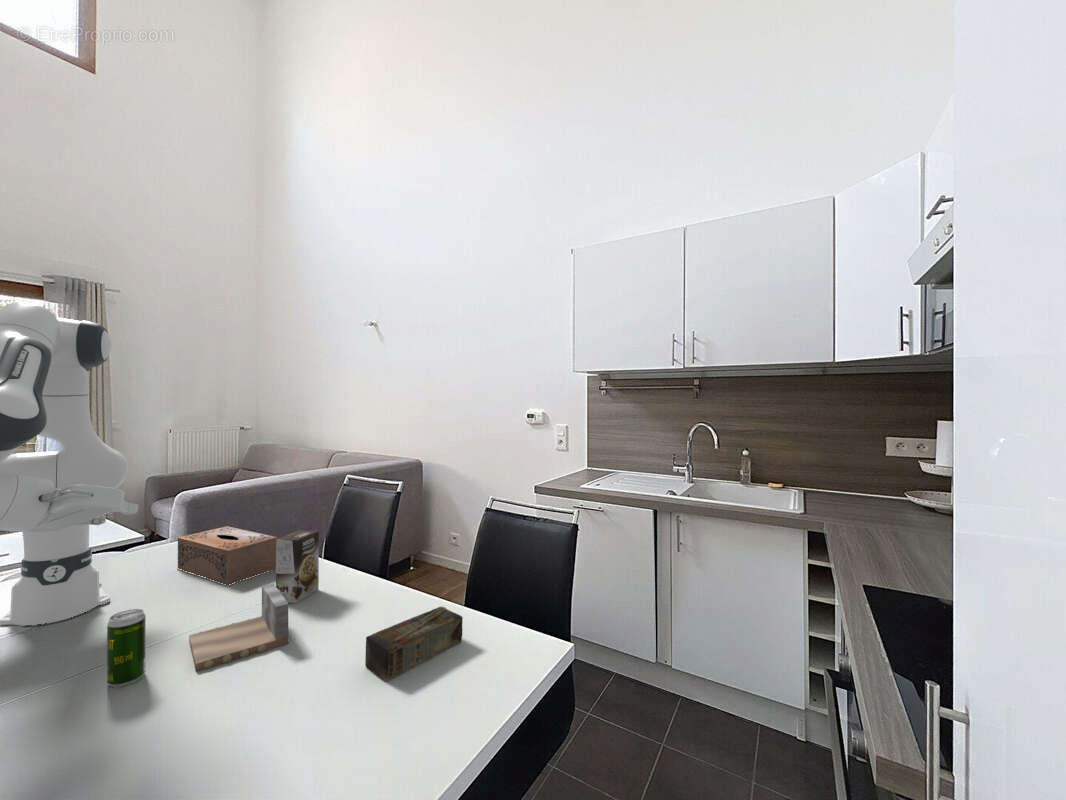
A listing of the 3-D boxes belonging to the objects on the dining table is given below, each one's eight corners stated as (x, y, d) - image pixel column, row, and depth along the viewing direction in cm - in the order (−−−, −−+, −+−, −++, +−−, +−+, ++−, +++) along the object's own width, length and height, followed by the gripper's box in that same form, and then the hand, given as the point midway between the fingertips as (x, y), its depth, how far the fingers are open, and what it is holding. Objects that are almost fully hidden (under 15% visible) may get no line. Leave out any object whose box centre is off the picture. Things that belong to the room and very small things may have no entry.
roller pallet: (189, 641, 100) (189, 601, 100) (273, 619, 111) (273, 583, 111) (196, 672, 89) (196, 627, 89) (288, 644, 100) (288, 604, 100)
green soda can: (141, 667, 91) (142, 605, 90) (148, 678, 87) (148, 614, 87) (104, 680, 86) (104, 615, 86) (109, 692, 83) (110, 624, 83)
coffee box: (296, 604, 119) (296, 540, 119) (274, 601, 120) (274, 538, 120) (319, 589, 128) (320, 530, 128) (299, 587, 129) (299, 529, 129)
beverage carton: (464, 643, 101) (464, 612, 101) (385, 685, 86) (385, 649, 86) (440, 631, 106) (440, 602, 106) (362, 669, 91) (362, 635, 91)
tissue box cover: (276, 570, 143) (277, 537, 143) (227, 586, 130) (227, 550, 130) (227, 556, 155) (227, 526, 155) (177, 570, 142) (177, 537, 142)
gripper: (67, 470, 76) (159, 486, 87) (-5, 497, 82) (90, 509, 94) (56, 509, 73) (152, 520, 85) (-18, 534, 79) (81, 542, 91)
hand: (119, 515), depth 89 cm, fingers open, 8 cm apart
